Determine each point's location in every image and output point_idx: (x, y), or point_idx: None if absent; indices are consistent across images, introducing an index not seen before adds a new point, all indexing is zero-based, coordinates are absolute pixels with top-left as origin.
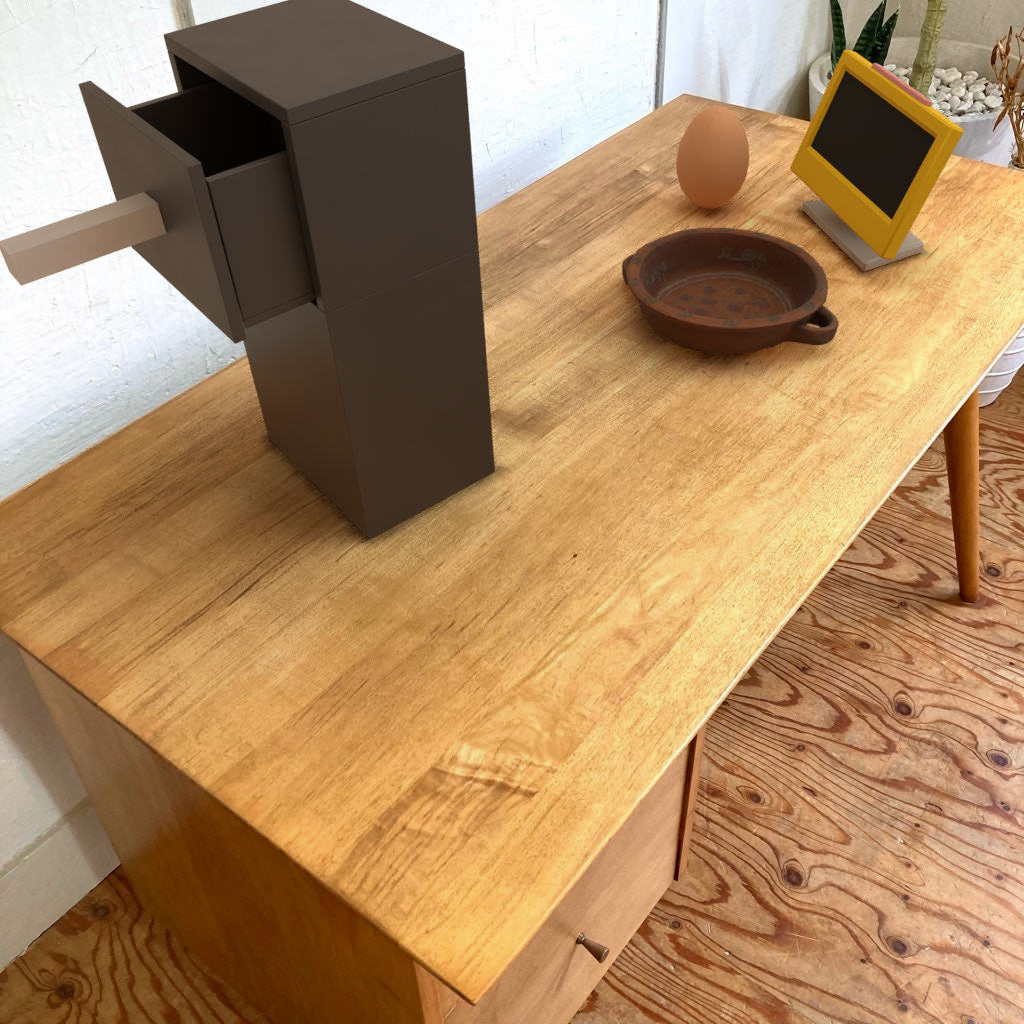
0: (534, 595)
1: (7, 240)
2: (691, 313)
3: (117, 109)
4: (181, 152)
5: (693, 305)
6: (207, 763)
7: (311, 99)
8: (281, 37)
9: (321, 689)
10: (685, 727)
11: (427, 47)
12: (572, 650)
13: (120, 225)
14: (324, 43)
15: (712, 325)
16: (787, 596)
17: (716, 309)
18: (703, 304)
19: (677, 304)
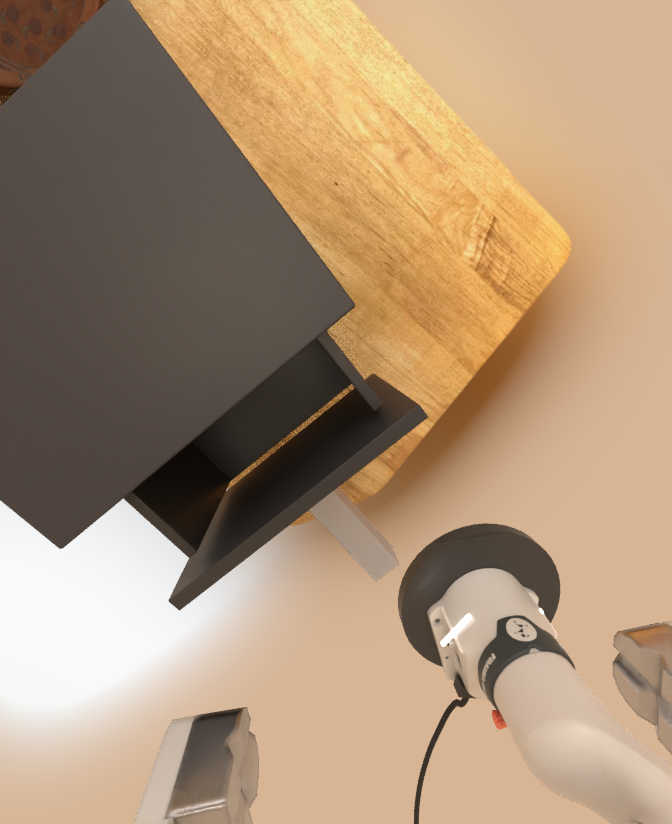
0: (367, 212)
1: (374, 574)
2: (80, 21)
3: (262, 541)
4: (389, 434)
5: (22, 32)
6: (462, 379)
7: (327, 271)
8: (64, 363)
9: (425, 332)
10: (465, 126)
11: (105, 72)
12: (409, 190)
13: (338, 493)
14: (90, 283)
15: (97, 2)
16: (376, 34)
17: (26, 8)
18: (19, 21)
19: (22, 50)
